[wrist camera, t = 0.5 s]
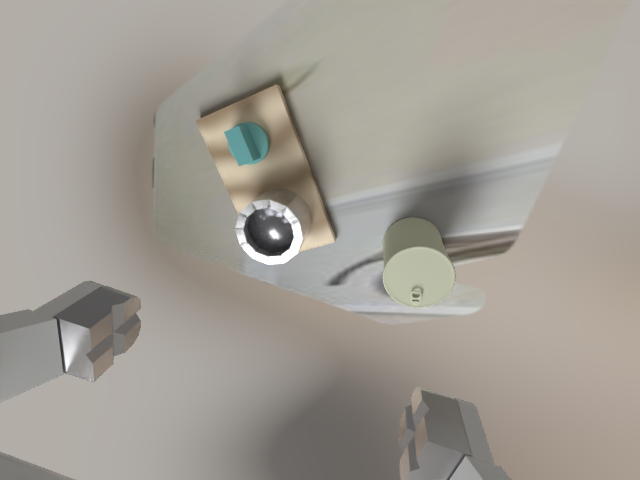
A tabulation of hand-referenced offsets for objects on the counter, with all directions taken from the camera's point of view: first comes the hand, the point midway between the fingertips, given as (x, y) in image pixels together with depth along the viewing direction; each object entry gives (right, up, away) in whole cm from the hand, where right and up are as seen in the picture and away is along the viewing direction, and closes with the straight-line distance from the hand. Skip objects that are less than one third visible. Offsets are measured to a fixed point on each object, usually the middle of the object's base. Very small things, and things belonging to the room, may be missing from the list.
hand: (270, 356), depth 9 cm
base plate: (-7, +13, +44) cm, 46 cm away
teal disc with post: (-9, +18, +40) cm, 45 cm away
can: (+16, +3, +44) cm, 47 cm away
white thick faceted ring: (-5, +7, +44) cm, 45 cm away
